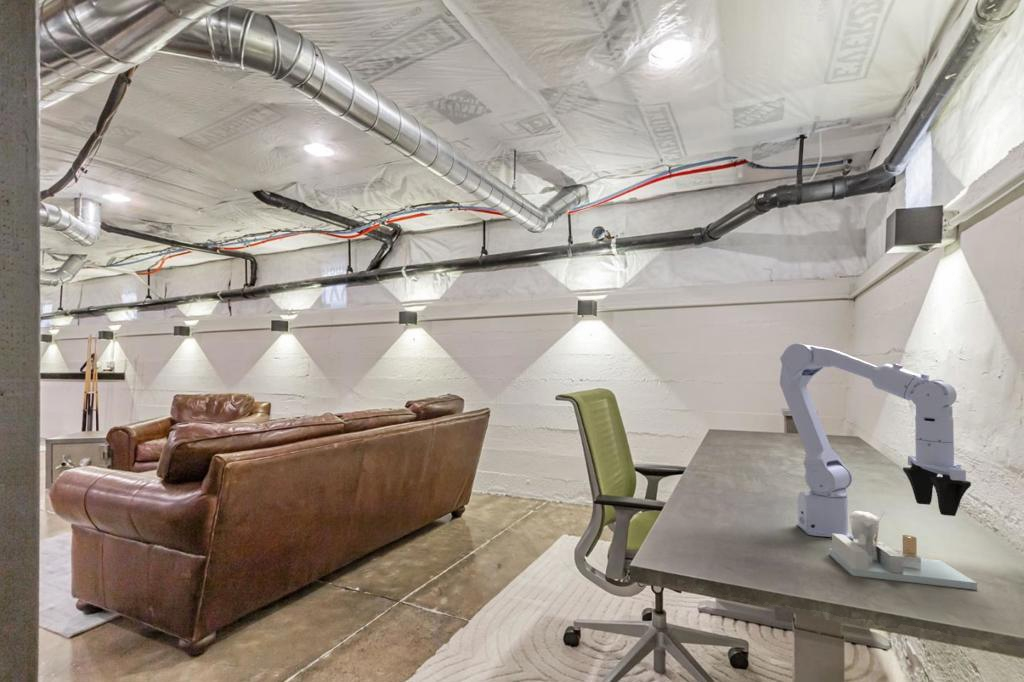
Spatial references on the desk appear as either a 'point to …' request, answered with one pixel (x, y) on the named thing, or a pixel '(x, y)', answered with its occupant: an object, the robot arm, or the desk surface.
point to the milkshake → (865, 532)
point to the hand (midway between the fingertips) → (935, 509)
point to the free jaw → (899, 556)
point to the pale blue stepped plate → (929, 573)
